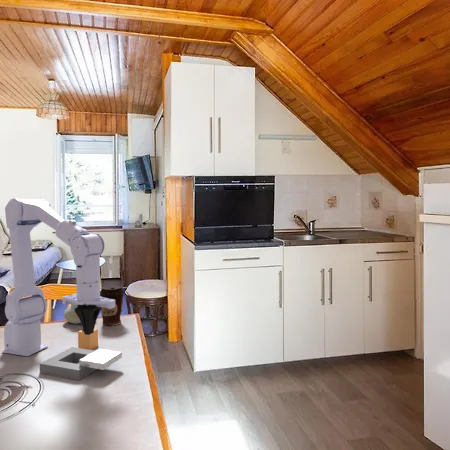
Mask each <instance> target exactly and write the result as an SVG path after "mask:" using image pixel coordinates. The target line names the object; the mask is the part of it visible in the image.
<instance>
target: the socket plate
mask: <svg viewBox="0 0 450 450" xmlns="http://www.w3.org/2000/svg"><path fill="white" fill-rule="evenodd" d="M94 351H95V350H94V349H92V350H88V349H81V348H78V347H73V346H72V347H70V348H67V349H65V350H63V351H62V352H60V353H58V354H56V355H53V356H52V357H50V358H48V359H46V360H43V361H42V362H40V363H39V374H41V375H47V376H51V377H53V376H54V377H59V378H64V379H65V378H66V379H70V380H75V381H80V380H82V379H83V378H85V377H87V376H88V375H90V374H91V373H93V372H94V371H96V370H97V369H95V368H89V367H83V366H79V360H80V359H82V358H84V357H85V356H87V355H89V354H91V353H93V352H94ZM74 362H77V363H74Z"/></svg>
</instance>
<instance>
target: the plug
mask: <svg viewBox="0 0 450 450" xmlns="http://www.w3.org/2000/svg"><path fill="white" fill-rule="evenodd" d="M77 345H78V346H77V348H81V349H88V350H94V349H95V348H97V347H99V329H98V328H94V332H93V333H92V334H90V335H86V334H84V330H83V327H82V328H81V330H79V331H77Z"/></svg>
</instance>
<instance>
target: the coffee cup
mask: <svg viewBox="0 0 450 450" xmlns="http://www.w3.org/2000/svg"><path fill="white" fill-rule="evenodd" d="M124 295H125V290H124V289H123V286H120V285H110V286H103V287H100V297H104V298H108V299H113V300H115V307H114V308H112V309H108V308H105V307H102V309H101V311H100V313H101V317H102V325H104V326H117V325H120V324H122V320H121V314H122V312H123V308H124V307H123V306H124V300H123V298H124Z"/></svg>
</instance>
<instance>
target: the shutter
mask: <svg viewBox="0 0 450 450" xmlns="http://www.w3.org/2000/svg"><path fill="white" fill-rule="evenodd" d="M122 358H123V354H122V351H117V350H111V349H103V348H97V349H96V350H94V352H93V353H91V354H89V355H87V356H85V357H84V358H82V359H80V360H79V362H78V363H79V366H83V367H89V368H95V369H96V370H101V371H102V370H105V369H107V368H108V367H111V365H113V364H115V363H116V362H117V361H119V360H121V359H122Z"/></svg>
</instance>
